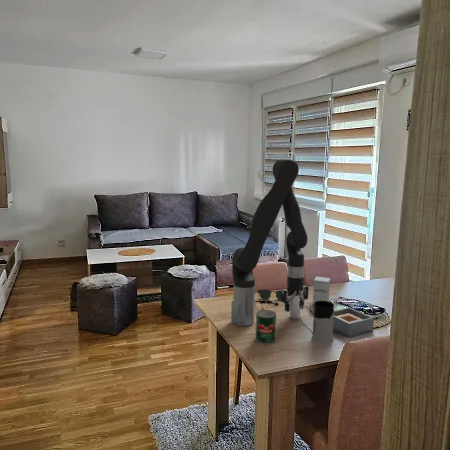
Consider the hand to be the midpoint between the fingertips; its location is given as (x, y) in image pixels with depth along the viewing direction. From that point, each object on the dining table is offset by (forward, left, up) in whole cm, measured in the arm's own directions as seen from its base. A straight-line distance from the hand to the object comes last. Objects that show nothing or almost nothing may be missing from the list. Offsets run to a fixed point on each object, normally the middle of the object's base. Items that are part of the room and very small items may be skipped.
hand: (294, 309), depth 185 cm
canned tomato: (-25, -14, -4) cm, 29 cm away
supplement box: (+24, +9, -4) cm, 26 cm away
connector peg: (0, 0, -3) cm, 3 cm away
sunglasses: (+1, +18, -4) cm, 19 cm away
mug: (-7, -23, -4) cm, 24 cm away
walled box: (+13, -21, -3) cm, 25 cm away
